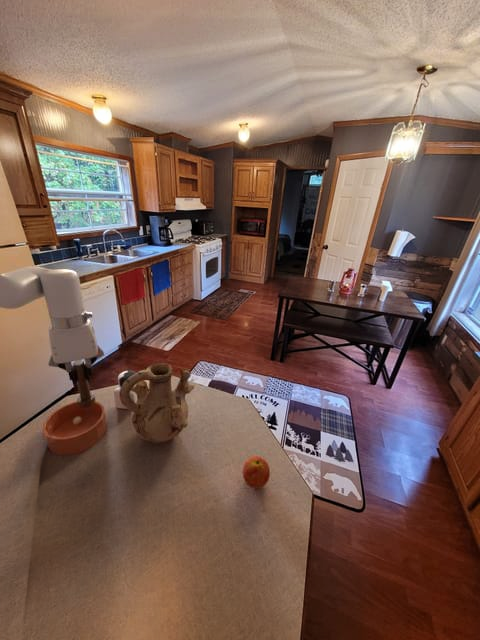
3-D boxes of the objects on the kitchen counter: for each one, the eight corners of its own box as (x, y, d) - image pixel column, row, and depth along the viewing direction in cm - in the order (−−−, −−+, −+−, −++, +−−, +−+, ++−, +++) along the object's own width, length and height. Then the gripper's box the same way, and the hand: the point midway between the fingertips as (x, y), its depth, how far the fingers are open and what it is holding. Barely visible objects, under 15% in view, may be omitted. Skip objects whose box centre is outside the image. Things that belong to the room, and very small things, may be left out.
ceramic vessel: (187, 460, 71) (187, 387, 61) (117, 460, 69) (105, 386, 59) (194, 412, 88) (194, 349, 78) (137, 412, 86) (130, 348, 76)
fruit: (250, 464, 71) (252, 443, 68) (272, 477, 68) (276, 456, 65) (236, 484, 66) (239, 463, 62) (260, 500, 62) (264, 478, 59)
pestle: (78, 410, 72) (68, 368, 66) (78, 400, 75) (68, 360, 69) (96, 405, 74) (88, 364, 68) (95, 396, 77) (87, 356, 72)
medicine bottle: (145, 396, 93) (142, 369, 88) (135, 410, 86) (132, 381, 82) (126, 394, 93) (122, 367, 89) (115, 408, 87) (111, 379, 82)
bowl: (45, 464, 67) (40, 448, 64) (49, 424, 79) (45, 409, 76) (109, 442, 74) (106, 426, 72) (104, 408, 86) (101, 394, 84)
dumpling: (73, 427, 77) (72, 421, 77) (73, 422, 79) (72, 416, 78) (82, 424, 79) (81, 418, 78) (82, 419, 81) (81, 413, 80)
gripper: (103, 310, 71) (112, 365, 78) (30, 318, 63) (47, 379, 70) (106, 320, 65) (115, 379, 72) (26, 331, 57) (45, 396, 64)
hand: (81, 379), depth 71 cm, fingers closed on pestle, 2 cm apart
